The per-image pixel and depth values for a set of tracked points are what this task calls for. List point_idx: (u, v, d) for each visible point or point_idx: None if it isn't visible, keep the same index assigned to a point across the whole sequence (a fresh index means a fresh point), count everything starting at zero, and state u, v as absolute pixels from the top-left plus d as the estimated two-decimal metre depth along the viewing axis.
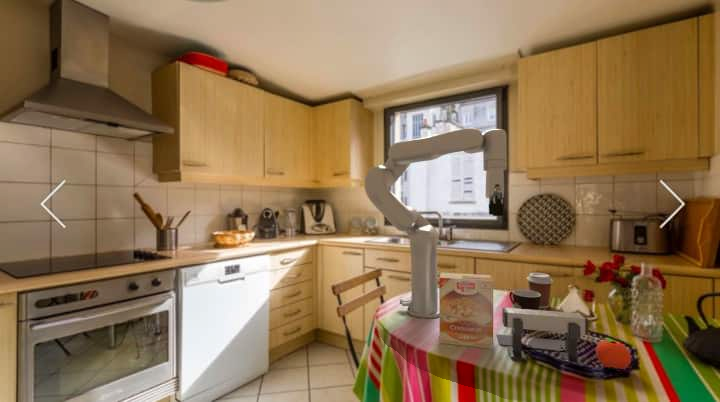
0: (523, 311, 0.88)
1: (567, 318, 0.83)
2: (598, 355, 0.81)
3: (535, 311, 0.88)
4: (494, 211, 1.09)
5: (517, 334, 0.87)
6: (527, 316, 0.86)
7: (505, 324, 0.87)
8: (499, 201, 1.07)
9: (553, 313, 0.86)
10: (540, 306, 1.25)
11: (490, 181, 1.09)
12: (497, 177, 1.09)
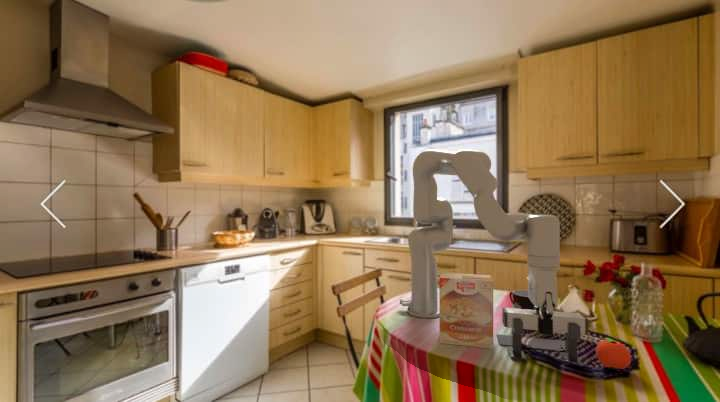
0: (523, 311, 0.88)
1: (567, 318, 0.83)
2: (598, 355, 0.81)
3: (535, 311, 0.88)
4: (541, 328, 0.84)
5: (517, 334, 0.87)
6: (527, 316, 0.86)
7: (505, 324, 0.87)
8: (548, 318, 0.82)
9: (553, 313, 0.86)
10: None
11: (538, 286, 0.82)
12: (548, 282, 0.82)
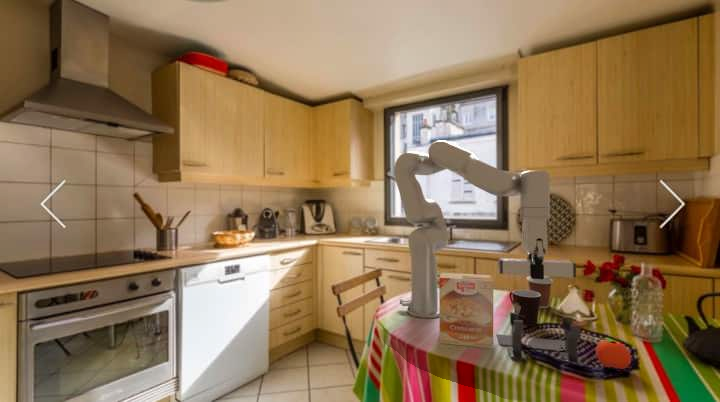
0: (517, 259, 0.96)
1: (556, 263, 0.91)
2: (598, 355, 0.81)
3: (528, 259, 0.96)
4: (533, 273, 0.92)
5: (517, 334, 0.87)
6: (521, 263, 0.94)
7: (500, 271, 0.95)
8: (539, 262, 0.90)
9: (544, 260, 0.94)
10: (540, 306, 1.25)
11: (530, 234, 0.90)
12: (539, 229, 0.90)
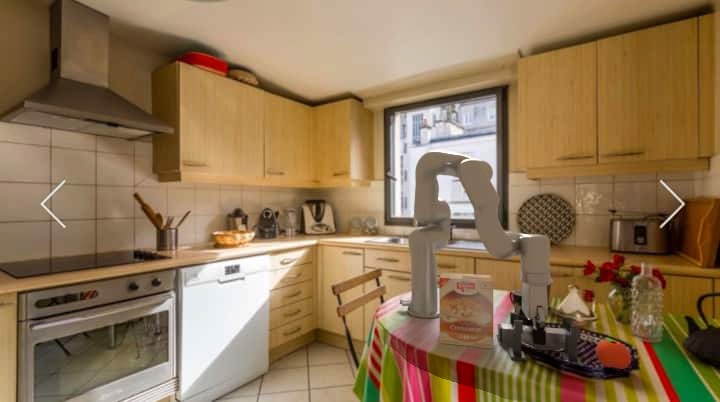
0: None
1: (556, 334, 0.92)
2: (598, 355, 0.81)
3: (528, 327, 0.96)
4: (534, 338, 0.91)
5: (517, 334, 0.87)
6: None
7: (500, 339, 0.96)
8: (541, 329, 0.89)
9: None
10: None
11: (530, 301, 0.91)
12: (539, 296, 0.90)
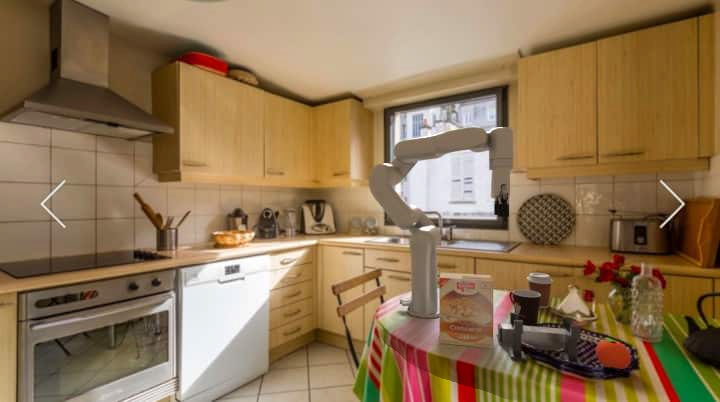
0: None
1: (556, 334, 0.92)
2: (598, 355, 0.81)
3: (528, 327, 0.96)
4: (499, 212, 1.05)
5: (517, 334, 0.87)
6: None
7: (500, 339, 0.96)
8: (505, 201, 1.04)
9: (544, 329, 0.94)
10: (540, 306, 1.25)
11: (496, 181, 1.06)
12: (503, 176, 1.06)
